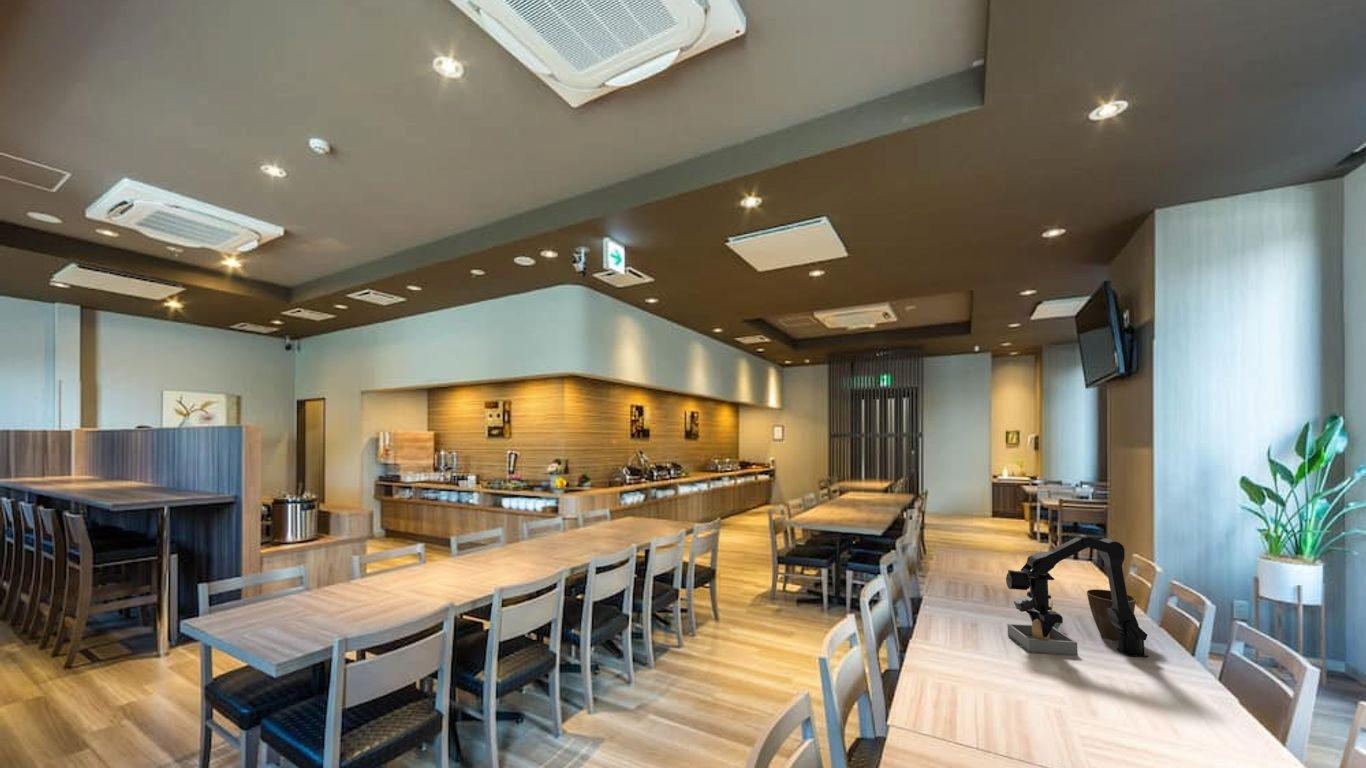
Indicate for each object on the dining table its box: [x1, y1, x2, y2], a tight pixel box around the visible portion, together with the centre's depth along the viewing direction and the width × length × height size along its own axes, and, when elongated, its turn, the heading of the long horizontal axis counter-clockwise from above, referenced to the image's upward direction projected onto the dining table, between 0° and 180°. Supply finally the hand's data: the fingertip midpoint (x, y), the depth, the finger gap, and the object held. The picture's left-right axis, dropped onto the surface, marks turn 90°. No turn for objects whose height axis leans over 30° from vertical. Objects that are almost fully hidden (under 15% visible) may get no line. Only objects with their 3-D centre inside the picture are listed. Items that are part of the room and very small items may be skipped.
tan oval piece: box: [1031, 619, 1050, 640], centre depth 200 cm, size 5×5×7 cm
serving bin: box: [1006, 623, 1079, 656], centre depth 199 cm, size 16×16×4 cm
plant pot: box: [1086, 588, 1137, 642], centre depth 208 cm, size 15×15×16 cm
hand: (1040, 634), depth 200 cm, fingers closed on tan oval piece, 5 cm apart
